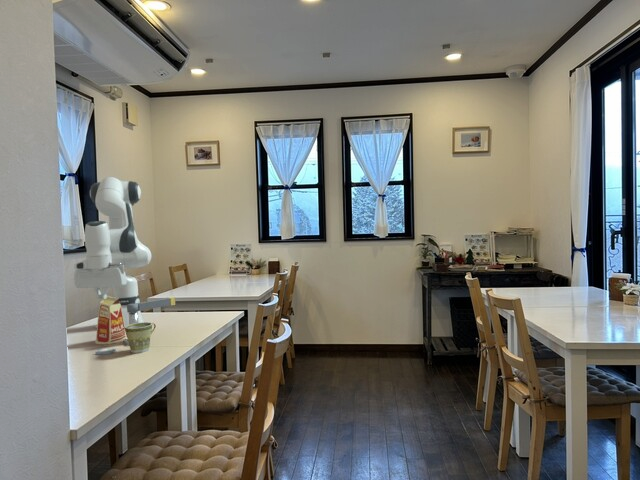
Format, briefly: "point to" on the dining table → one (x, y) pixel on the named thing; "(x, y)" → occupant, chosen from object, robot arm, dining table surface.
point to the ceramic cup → (139, 336)
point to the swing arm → (150, 304)
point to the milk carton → (110, 322)
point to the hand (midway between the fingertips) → (102, 298)
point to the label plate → (105, 351)
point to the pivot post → (132, 319)
